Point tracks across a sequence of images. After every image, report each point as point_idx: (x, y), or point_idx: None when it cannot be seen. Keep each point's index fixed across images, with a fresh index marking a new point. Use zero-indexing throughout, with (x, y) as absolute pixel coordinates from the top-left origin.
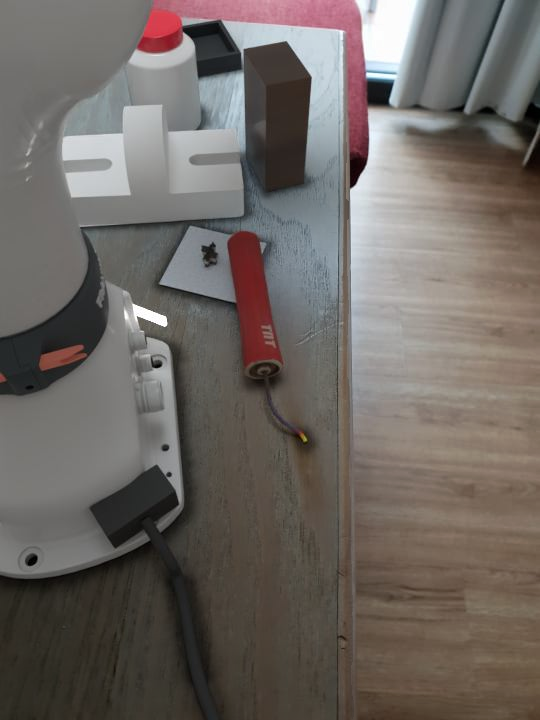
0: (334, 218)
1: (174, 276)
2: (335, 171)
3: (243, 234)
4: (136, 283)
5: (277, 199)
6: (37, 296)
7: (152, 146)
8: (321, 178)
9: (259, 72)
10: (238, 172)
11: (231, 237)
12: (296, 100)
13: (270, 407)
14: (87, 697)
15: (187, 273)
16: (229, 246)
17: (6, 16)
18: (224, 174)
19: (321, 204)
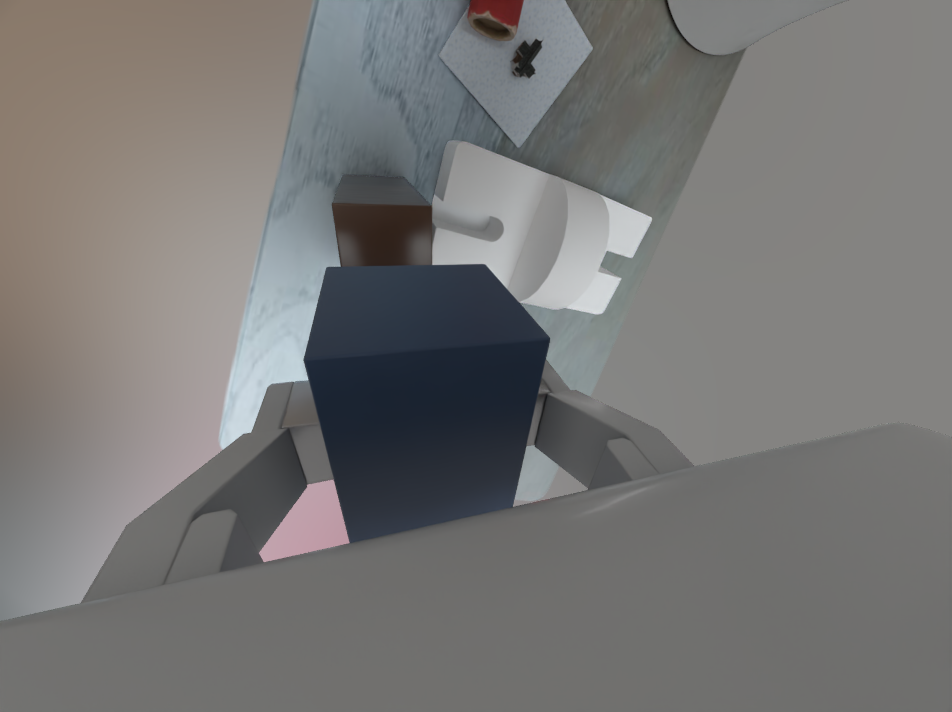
0: (311, 63)
1: (571, 53)
2: (282, 182)
3: (503, 8)
4: (609, 71)
5: (391, 155)
6: None
7: (580, 212)
8: (310, 174)
9: (429, 253)
10: (452, 182)
11: (515, 24)
12: (365, 196)
13: None
14: None
15: (556, 49)
16: (520, 14)
17: None
18: (472, 185)
19: (326, 111)
